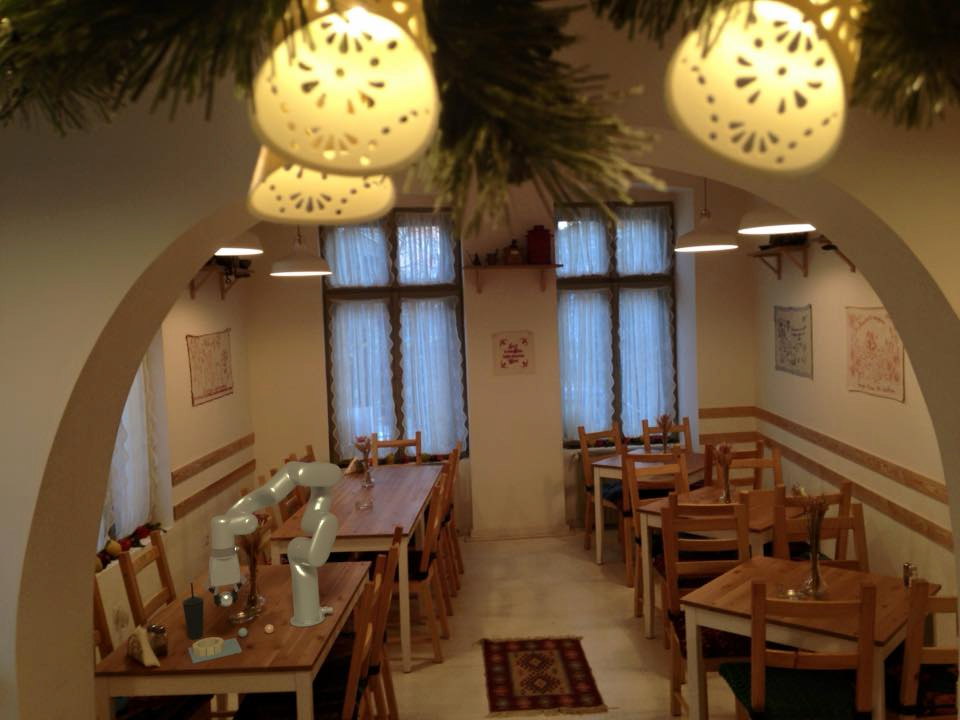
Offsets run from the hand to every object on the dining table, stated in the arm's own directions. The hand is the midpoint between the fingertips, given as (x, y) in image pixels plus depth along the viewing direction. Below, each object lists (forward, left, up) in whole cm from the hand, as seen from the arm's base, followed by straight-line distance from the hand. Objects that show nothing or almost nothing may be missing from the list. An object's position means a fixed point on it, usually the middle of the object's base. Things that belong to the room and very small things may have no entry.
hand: (226, 603), depth 287 cm
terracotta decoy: (-15, -7, -15) cm, 22 cm away
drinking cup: (+9, -19, -16) cm, 26 cm away
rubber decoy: (-6, -9, -15) cm, 18 cm away
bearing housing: (+5, -1, -16) cm, 17 cm away
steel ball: (0, 0, +2) cm, 2 cm away
